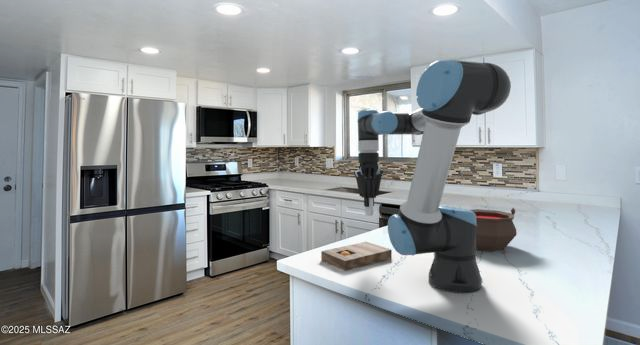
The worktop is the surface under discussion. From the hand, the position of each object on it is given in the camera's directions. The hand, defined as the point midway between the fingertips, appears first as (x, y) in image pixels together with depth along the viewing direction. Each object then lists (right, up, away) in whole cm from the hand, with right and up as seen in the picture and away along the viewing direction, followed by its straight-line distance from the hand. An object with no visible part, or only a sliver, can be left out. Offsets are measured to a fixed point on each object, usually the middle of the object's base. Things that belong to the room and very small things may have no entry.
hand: (369, 215), depth 133 cm
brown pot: (+50, -15, +14) cm, 54 cm away
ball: (-9, -15, -5) cm, 18 cm away
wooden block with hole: (-5, -16, -2) cm, 17 cm away
